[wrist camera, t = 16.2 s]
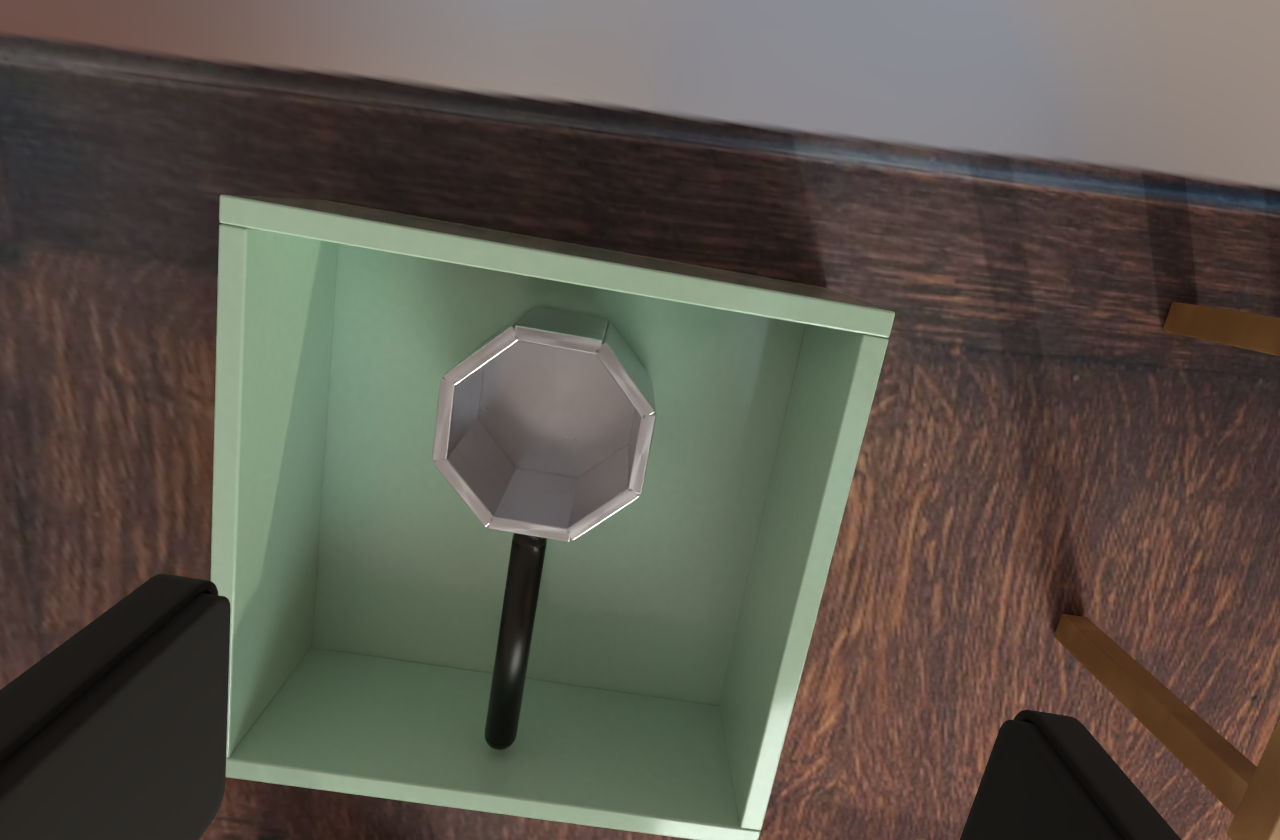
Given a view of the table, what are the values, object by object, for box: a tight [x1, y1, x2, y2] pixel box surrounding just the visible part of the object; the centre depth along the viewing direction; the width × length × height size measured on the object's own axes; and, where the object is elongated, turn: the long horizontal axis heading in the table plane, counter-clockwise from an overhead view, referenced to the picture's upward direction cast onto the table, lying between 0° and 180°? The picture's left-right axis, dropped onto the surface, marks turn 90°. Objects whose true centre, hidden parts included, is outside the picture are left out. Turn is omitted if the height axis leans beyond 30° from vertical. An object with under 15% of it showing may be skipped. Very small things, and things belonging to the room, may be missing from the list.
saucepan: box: [432, 307, 656, 750], centre depth 28 cm, size 16×7×6 cm, turn 170°
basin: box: [211, 194, 895, 840], centre depth 28 cm, size 20×20×8 cm
